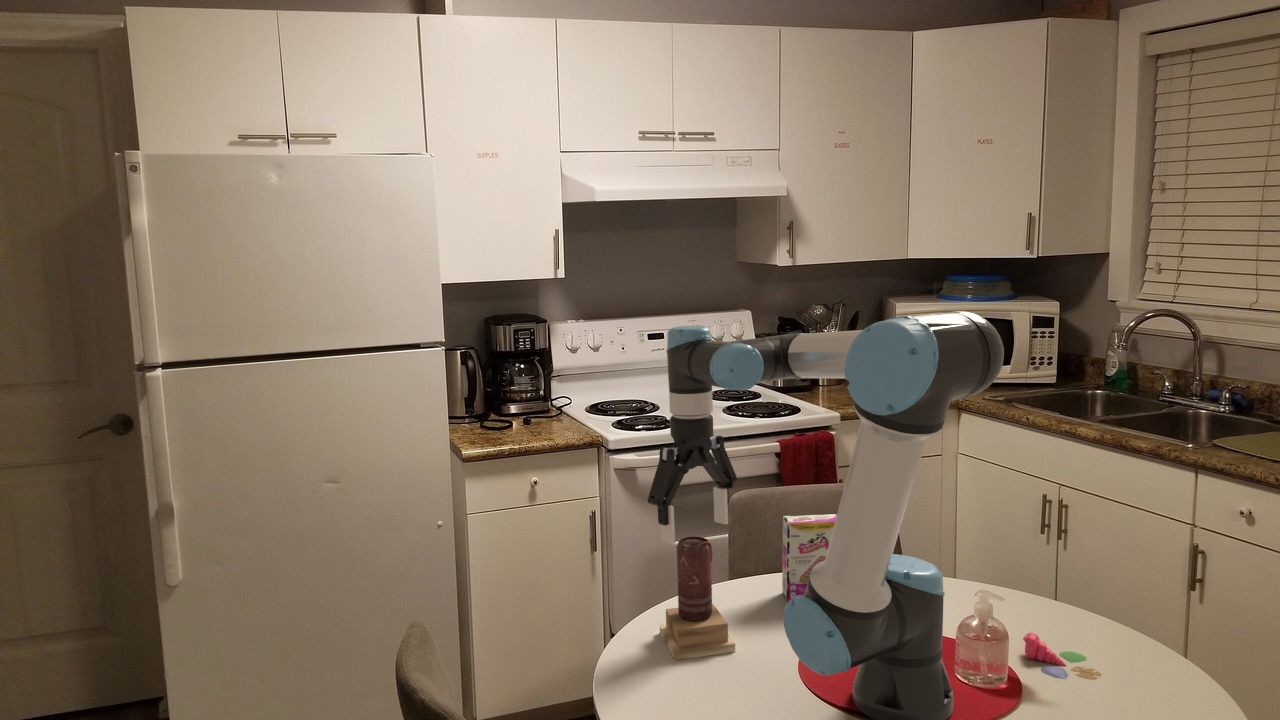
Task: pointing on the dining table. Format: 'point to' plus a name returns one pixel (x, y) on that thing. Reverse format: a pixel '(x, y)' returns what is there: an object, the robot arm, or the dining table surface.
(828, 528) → the candy bar box
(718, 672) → the dining table surface
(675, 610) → the stand
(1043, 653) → the toy pieces
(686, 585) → the can
